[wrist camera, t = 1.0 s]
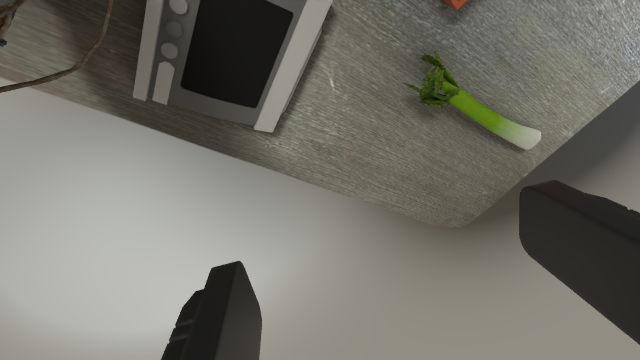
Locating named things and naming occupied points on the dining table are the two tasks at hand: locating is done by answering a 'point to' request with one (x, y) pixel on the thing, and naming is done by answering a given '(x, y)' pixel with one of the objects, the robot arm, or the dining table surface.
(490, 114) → the celery stalk
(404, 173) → the dining table surface
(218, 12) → the alarm clock
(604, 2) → the dining table surface
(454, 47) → the dining table surface
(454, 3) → the terracotta tray
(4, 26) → the lantern
